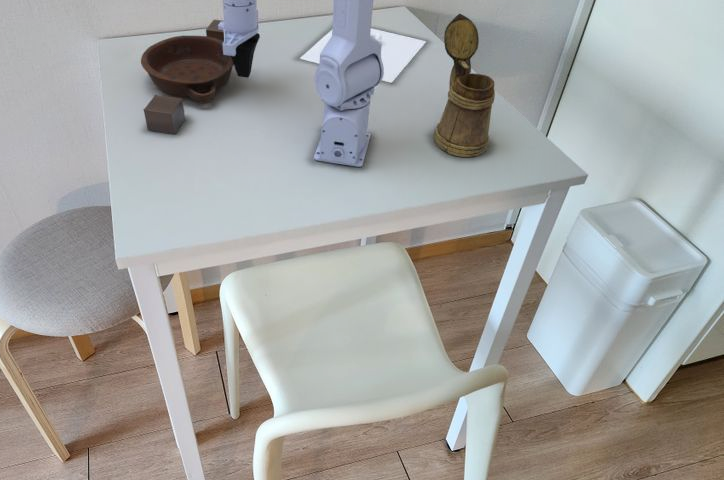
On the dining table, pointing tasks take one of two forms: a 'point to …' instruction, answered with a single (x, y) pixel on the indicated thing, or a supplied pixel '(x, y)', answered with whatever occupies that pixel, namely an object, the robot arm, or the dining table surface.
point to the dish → (188, 66)
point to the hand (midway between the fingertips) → (243, 75)
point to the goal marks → (173, 100)
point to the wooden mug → (465, 95)
